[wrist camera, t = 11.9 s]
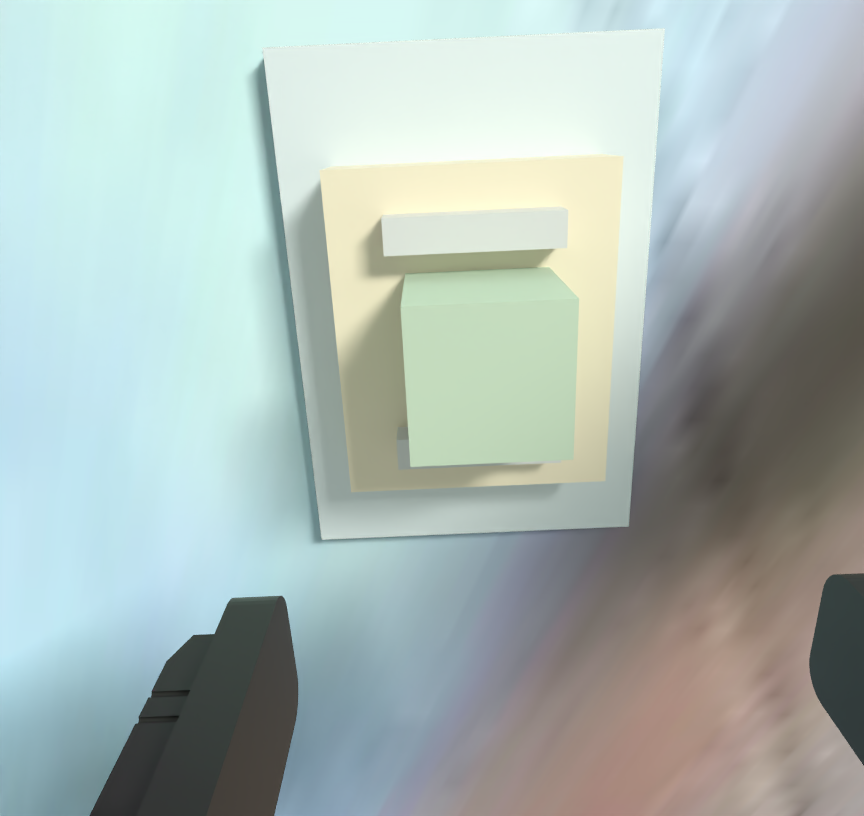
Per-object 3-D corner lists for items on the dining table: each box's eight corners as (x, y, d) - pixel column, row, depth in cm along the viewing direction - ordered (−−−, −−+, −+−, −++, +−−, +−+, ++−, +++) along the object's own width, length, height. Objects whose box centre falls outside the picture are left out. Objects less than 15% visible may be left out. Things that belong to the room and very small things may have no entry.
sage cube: (549, 266, 24) (579, 298, 19) (546, 401, 26) (573, 459, 21) (405, 273, 24) (400, 306, 19) (413, 406, 26) (410, 466, 21)
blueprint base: (655, 32, 25) (711, 7, 20) (622, 515, 32) (657, 582, 27) (268, 51, 25) (230, 30, 20) (324, 528, 32) (307, 597, 27)
